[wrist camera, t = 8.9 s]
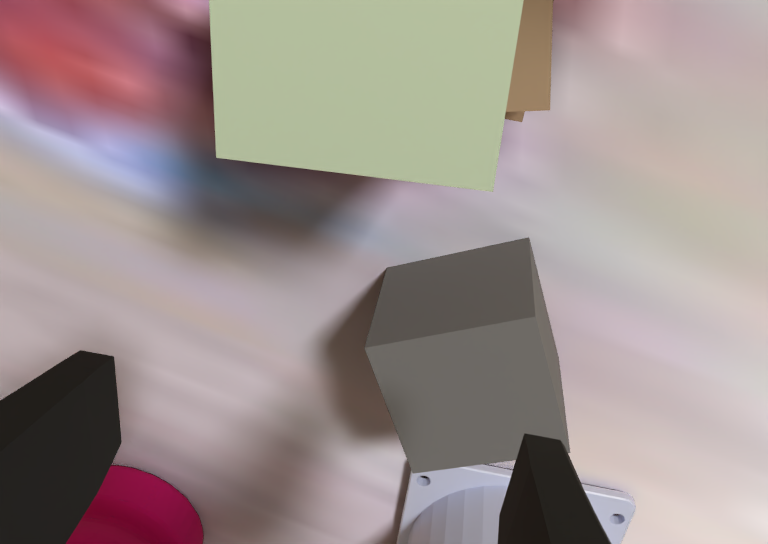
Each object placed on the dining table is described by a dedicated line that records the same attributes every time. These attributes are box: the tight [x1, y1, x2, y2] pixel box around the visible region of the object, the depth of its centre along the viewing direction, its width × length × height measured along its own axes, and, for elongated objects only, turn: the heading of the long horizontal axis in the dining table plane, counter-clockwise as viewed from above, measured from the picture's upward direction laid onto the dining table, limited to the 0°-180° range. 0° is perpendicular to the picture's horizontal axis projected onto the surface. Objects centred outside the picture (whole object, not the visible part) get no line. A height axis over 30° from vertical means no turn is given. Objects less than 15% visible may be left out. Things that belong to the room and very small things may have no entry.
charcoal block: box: [365, 238, 570, 474], centre depth 21 cm, size 4×4×4 cm
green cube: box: [209, 0, 524, 192], centre depth 12 cm, size 4×4×4 cm
